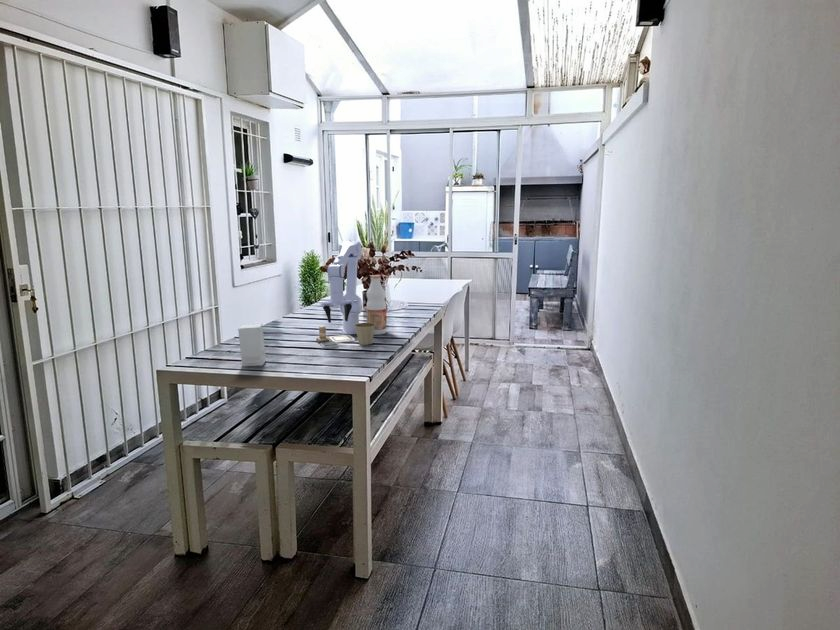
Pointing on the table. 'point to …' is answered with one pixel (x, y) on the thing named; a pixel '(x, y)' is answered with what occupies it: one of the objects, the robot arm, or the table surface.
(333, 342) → the ink pad
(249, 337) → the skincare box
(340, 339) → the print card
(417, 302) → the table surface
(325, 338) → the stamp
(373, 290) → the fruit juice
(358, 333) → the flower pot
